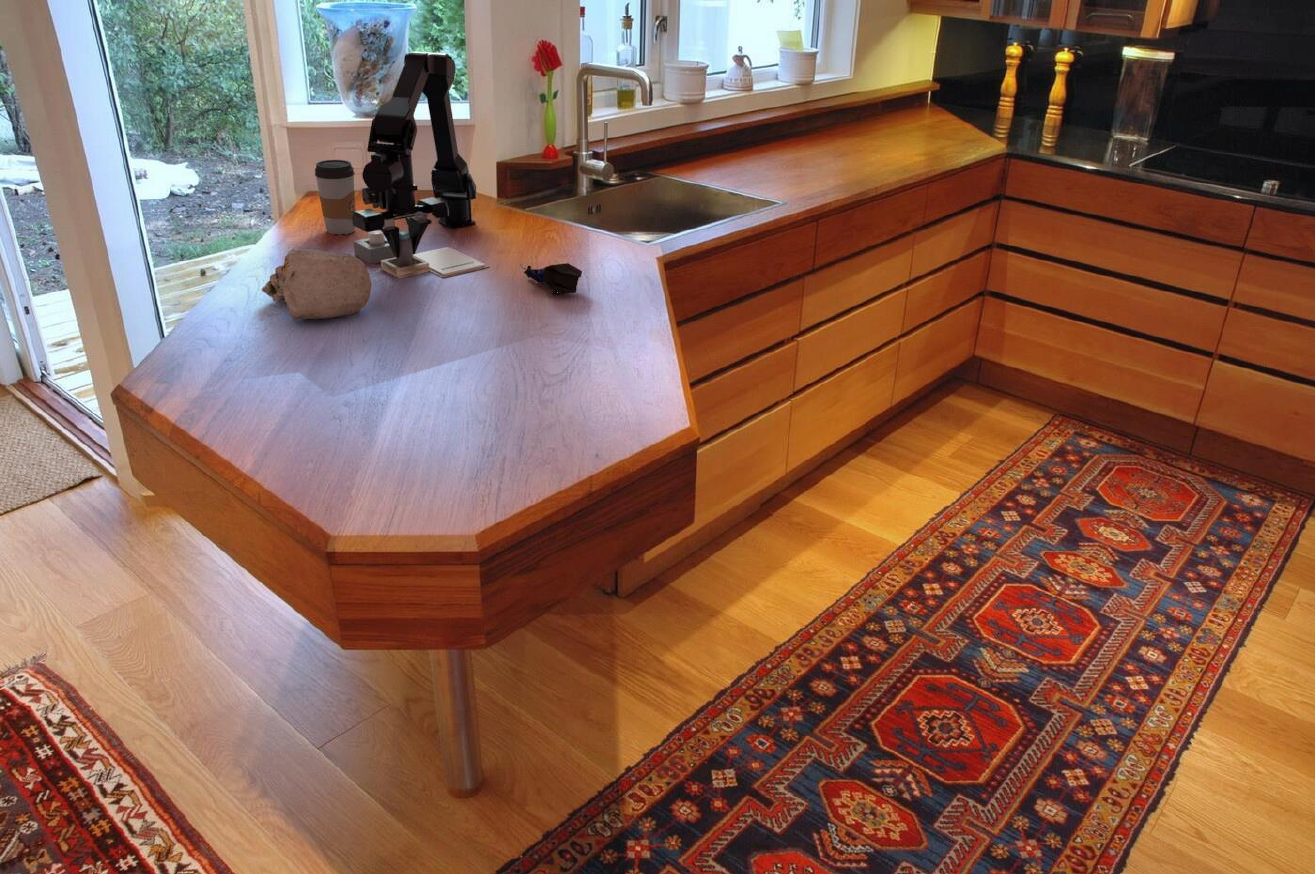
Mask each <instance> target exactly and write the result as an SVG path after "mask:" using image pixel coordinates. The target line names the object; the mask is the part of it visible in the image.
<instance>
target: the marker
mask: <svg viewBox="0 0 1315 874" xmlns="http://www.w3.org/2000/svg"><path fill="white" fill-rule="evenodd" d="M399 242H400V253H399V258H396V262H397V267H399V268H402V267H407V266H411V265H414V259H413V247H412V238H411V237H410V235H409V231H408V232H407V231H399Z"/></svg>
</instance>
